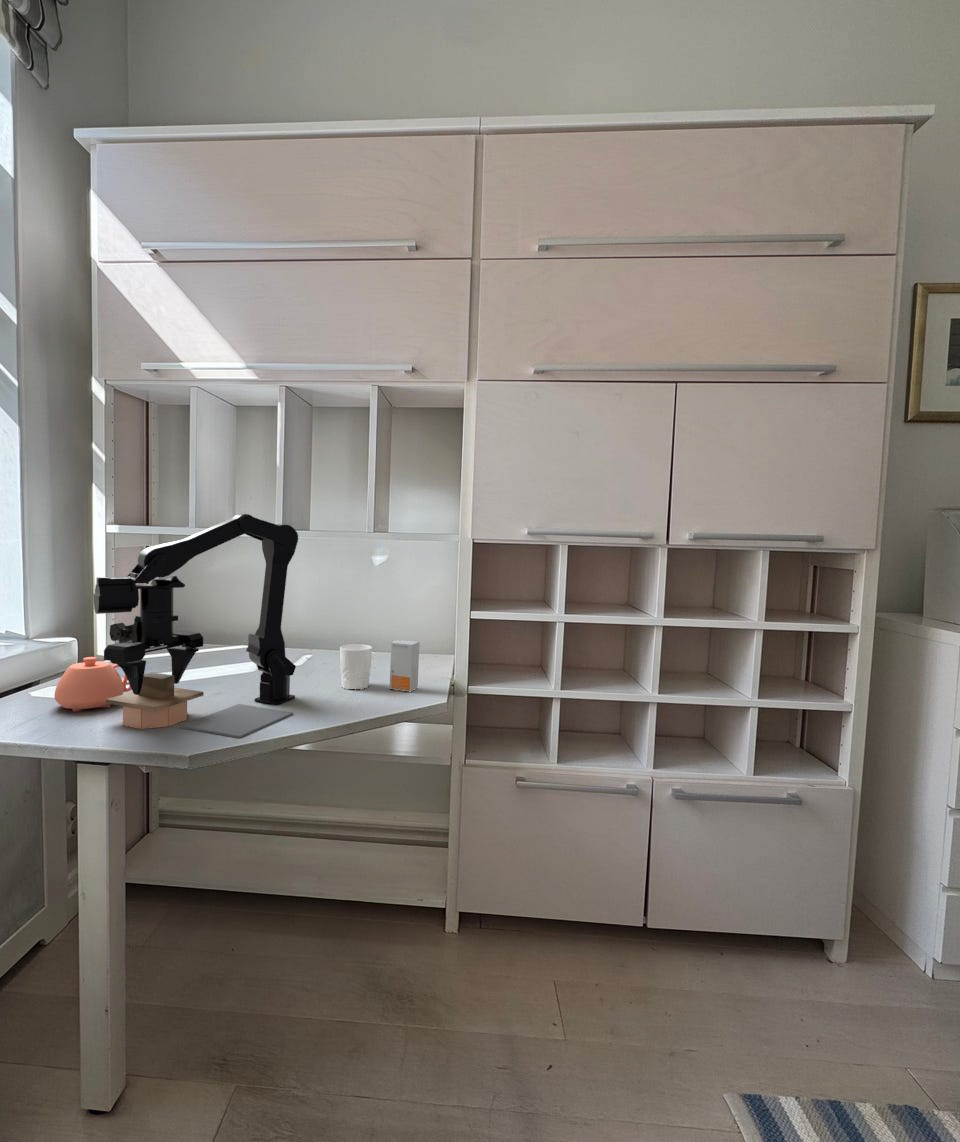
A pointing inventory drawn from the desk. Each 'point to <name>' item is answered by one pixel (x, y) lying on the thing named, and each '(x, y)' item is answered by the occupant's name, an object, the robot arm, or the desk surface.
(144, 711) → the bowl
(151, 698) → the cover
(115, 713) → the desk surface
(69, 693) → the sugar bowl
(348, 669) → the white cup
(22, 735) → the desk surface
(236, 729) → the mat
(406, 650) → the skincare box
